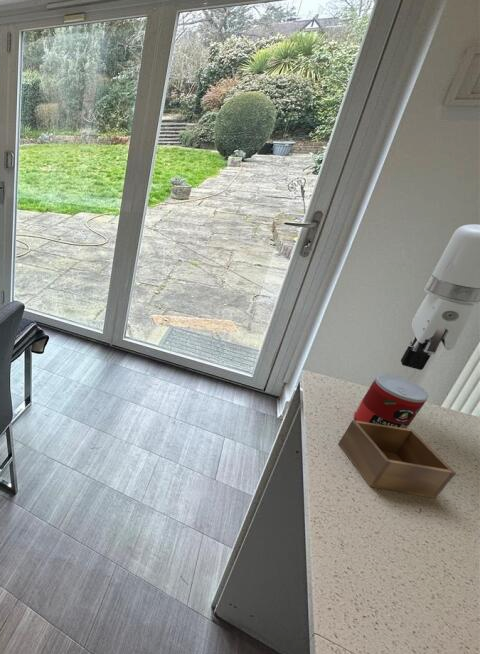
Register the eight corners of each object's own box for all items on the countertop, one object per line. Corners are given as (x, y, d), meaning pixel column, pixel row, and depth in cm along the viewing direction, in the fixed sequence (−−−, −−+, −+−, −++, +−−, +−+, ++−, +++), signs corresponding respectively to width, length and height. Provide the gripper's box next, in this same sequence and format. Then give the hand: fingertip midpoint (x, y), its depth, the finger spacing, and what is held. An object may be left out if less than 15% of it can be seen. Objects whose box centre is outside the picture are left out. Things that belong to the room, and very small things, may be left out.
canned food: (365, 436, 84) (391, 395, 79) (344, 409, 91) (367, 370, 86) (409, 444, 82) (440, 403, 77) (385, 416, 89) (411, 377, 84)
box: (395, 453, 80) (412, 429, 77) (435, 498, 72) (456, 473, 69) (337, 443, 82) (352, 419, 79) (369, 486, 73) (387, 461, 70)
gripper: (496, 309, 72) (443, 391, 80) (472, 280, 82) (428, 355, 90) (435, 297, 76) (391, 376, 84) (420, 271, 87) (382, 344, 95)
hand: (411, 365), depth 87 cm, fingers closed
